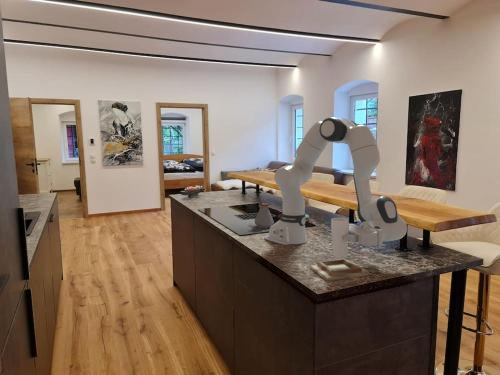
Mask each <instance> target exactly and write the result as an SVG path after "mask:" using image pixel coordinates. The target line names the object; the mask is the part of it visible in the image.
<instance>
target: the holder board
mask: <svg viewBox="0 0 500 375" xmlns="http://www.w3.org/2000/svg"><path fill="white" fill-rule="evenodd" d="M309 268H310V270H312V271H314V272H315V273H316V274H317V275H318V276H320V277H321V278H322V279H324V280H325V281H326V282H329V281H336V280H345V279H350V278H359V277H365V276H370V271H368V270H366V269H365V268H363V267H361V266H360V265H358V264H356V263H355V262H353V261H351V260H350V259H349V260H348V259H347V258H336V259H328V260H327V259H325V260H321V261H317V264H310V267H309Z"/></svg>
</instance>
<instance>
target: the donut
mask: <svg viewBox="0 0 500 375" xmlns="http://www.w3.org/2000/svg"><path fill="white" fill-rule="evenodd" d="M309 220H310V216H309V214H306V213H305V223H307V222H309Z"/></svg>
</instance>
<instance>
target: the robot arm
mask: <svg viewBox="0 0 500 375" xmlns="http://www.w3.org/2000/svg"><path fill="white" fill-rule="evenodd" d="M329 143H334V144H345V145H346V144H347V146H348V147H349V148H348V149H349V150H350V151H349V152H350V156H351V159H352V165H353V170H352V171H353V173H352V174H353V176H352V177H353V184H354V190H355V194H356V201H357V211H356V212H357V217H358V220H359V221H360V222H361V223H360V225H357V224H355V223H349V235H343V236H342V237H343V238H342V239H343V240H344V241H348V242H351V241H352V242H356V243H358V244H359V245H361V246H366V247H367V246H368V247H369V246H371V247H373V246H378V247H382V246H383V242H394V241H397V240H401V239H402V238H403V237H405V235H406V234H407V232H408V225H407V221H406V220H404V219H403V218H402V217H401V216H400V214H399V212H398V210H397V204H396V202H395V201H394V200H393V199H392V198H391V197H390V196H386V195H383V196H380V197H377V198H374V199H373V198H372V192H371V186H370V178H371V176H372V174H373V172H374V171H375V170H376V169H377V167H378V165H380V162H381V161H380V160H381V157H380V150H379V148H378V144H377V141H376V139H375V137H374V134H373V133H372V131H371V128H370V127H369V126H368V125H366V124H358V123H356V122H355V121H354V120H353V121H352V120H350V119H347V118H344V117H343V118H342V117H336V116H335V117H334V116H332V117H331V116H330V117H328V118H324V119H323V120H322V121H321V120H319V121H316V122H314V124H313V125H311V126H310V128H309V129H308V130H307V132H306V133H305V135H304V137H303V139H302V140H301V142H300V143H299V145H298V146H297V148H296V150H295V154H296V156H295V159H294V161H293V163H292V164H289V165H288V164H287V165H284V166H281V167H280V168H278V169H276V171H275V172H274V175H273V176H274V177H273V178H274V181H275V184H276V185H277V186H278V187H279V190H280V194H281V197H282V200H281V201H282V213H280V214H278V216H277V217H278V218H279V220H278V221H276V222H274V223H273V225H272V226H271V227H270V228H269V230H268V234H266V235H264V240H267V241H269V242H270V241H271V242H273V243H276V244H279V245H283V246H287V245H303V244H306V243H307V242H308V237H307V233H306V232H307V231H306V222H305V214H306V213H305V211H306V210H305V202H306V201H305V200H306V199H305V196H304V195H303V194H302V191H301V186H303V185H305V184H307V183H308V182H310V180H311V179H312V177H313V170H314V167H315V165H316V163H317V161H318V160H319V158H320V156H321V155H322V153H323V152H324V150H325V149H326V147H327V145H329Z"/></svg>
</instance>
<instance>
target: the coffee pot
mask: <svg viewBox="0 0 500 375" xmlns="http://www.w3.org/2000/svg"><path fill="white" fill-rule="evenodd" d="M257 200H258V202H259V204H258V207H259V210H258V212H257V215H256V217H255V220H254V225H256V226H257V228H259V229H270V227H271V226H272V225H273V224H275V221H274V219H273V216H272V214H271V212H270V210H269V208H270V207H271V205H270V204H265V203H264V204H263V203H262V198H261V197H258V198H257Z"/></svg>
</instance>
